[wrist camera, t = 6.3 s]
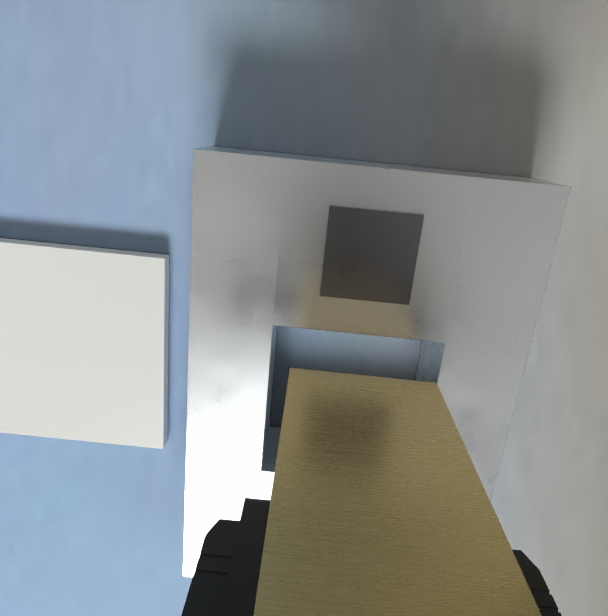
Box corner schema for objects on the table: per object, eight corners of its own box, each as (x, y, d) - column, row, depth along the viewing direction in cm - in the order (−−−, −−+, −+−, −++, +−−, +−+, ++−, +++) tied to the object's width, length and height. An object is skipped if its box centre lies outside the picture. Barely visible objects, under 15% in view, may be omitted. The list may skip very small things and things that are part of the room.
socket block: (531, 177, 18) (574, 187, 15) (446, 546, 23) (465, 609, 20) (214, 146, 18) (191, 149, 15) (200, 521, 23) (181, 580, 20)
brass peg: (436, 382, 16) (573, 686, 7) (412, 504, 17) (502, 879, 8) (289, 367, 16) (248, 651, 7) (278, 490, 17) (232, 851, 8)
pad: (169, 254, 19) (164, 258, 19) (167, 440, 22) (163, 448, 21) (-46, 233, 19) (-57, 236, 19) (-22, 421, 22) (-32, 429, 21)
